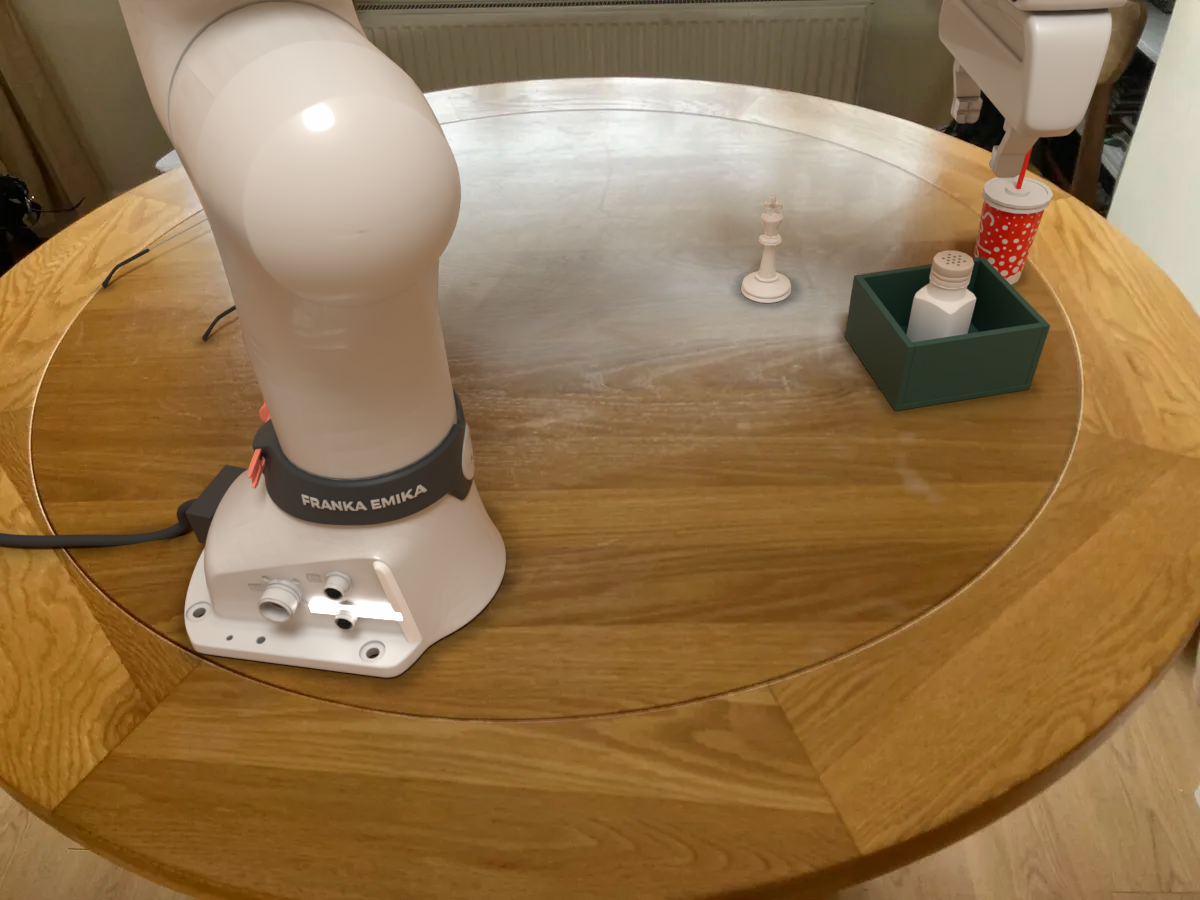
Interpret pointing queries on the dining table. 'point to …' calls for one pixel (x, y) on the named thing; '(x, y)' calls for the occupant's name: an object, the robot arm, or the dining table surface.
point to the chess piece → (768, 262)
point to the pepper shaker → (943, 299)
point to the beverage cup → (1010, 221)
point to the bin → (944, 339)
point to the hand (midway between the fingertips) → (982, 145)
